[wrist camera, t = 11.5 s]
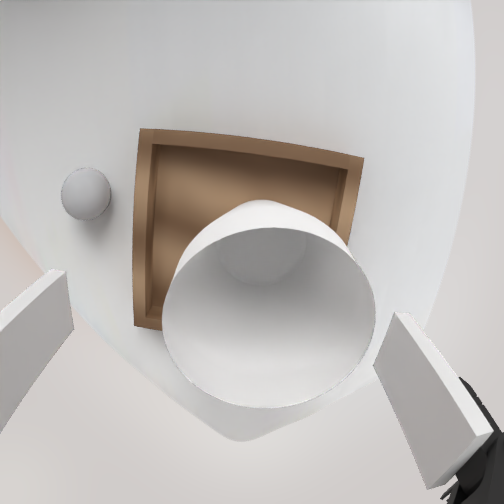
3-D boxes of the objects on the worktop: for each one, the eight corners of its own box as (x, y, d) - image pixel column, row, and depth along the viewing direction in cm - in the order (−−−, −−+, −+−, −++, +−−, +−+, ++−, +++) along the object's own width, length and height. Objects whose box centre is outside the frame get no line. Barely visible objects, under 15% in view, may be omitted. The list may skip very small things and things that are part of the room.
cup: (339, 266, 24) (400, 360, 13) (237, 315, 25) (229, 430, 14) (288, 160, 22) (329, 176, 10) (178, 219, 23) (114, 290, 12)
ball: (78, 164, 22) (51, 169, 19) (120, 166, 23) (97, 171, 19) (76, 211, 24) (51, 223, 20) (117, 216, 24) (96, 229, 20)
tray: (153, 130, 22) (140, 128, 19) (350, 156, 22) (364, 158, 20) (144, 308, 26) (134, 325, 24) (313, 329, 27) (319, 349, 24)
